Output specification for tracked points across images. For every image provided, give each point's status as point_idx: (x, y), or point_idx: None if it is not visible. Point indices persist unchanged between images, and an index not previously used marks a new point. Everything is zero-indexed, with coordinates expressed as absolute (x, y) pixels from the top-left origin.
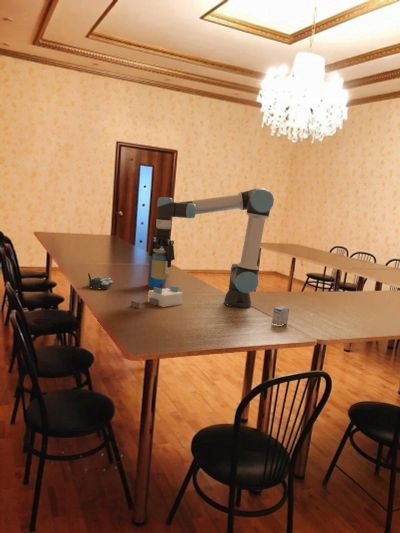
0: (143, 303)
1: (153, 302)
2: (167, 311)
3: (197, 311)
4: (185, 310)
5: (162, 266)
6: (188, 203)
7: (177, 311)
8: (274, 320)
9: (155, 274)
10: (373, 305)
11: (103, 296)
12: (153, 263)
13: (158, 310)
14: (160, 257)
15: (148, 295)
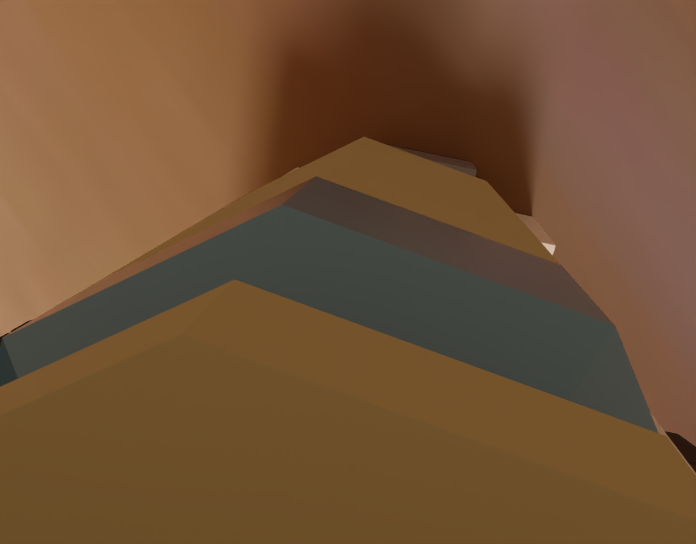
0: (517, 114)
1: (408, 152)
2: (168, 61)
3: (20, 296)
4: (98, 238)
5: (173, 238)
6: None
7: (115, 145)
8: None
9: (354, 143)
10: None
11: None
12: (459, 209)
13: (243, 12)
14: (129, 276)
15: (538, 229)
